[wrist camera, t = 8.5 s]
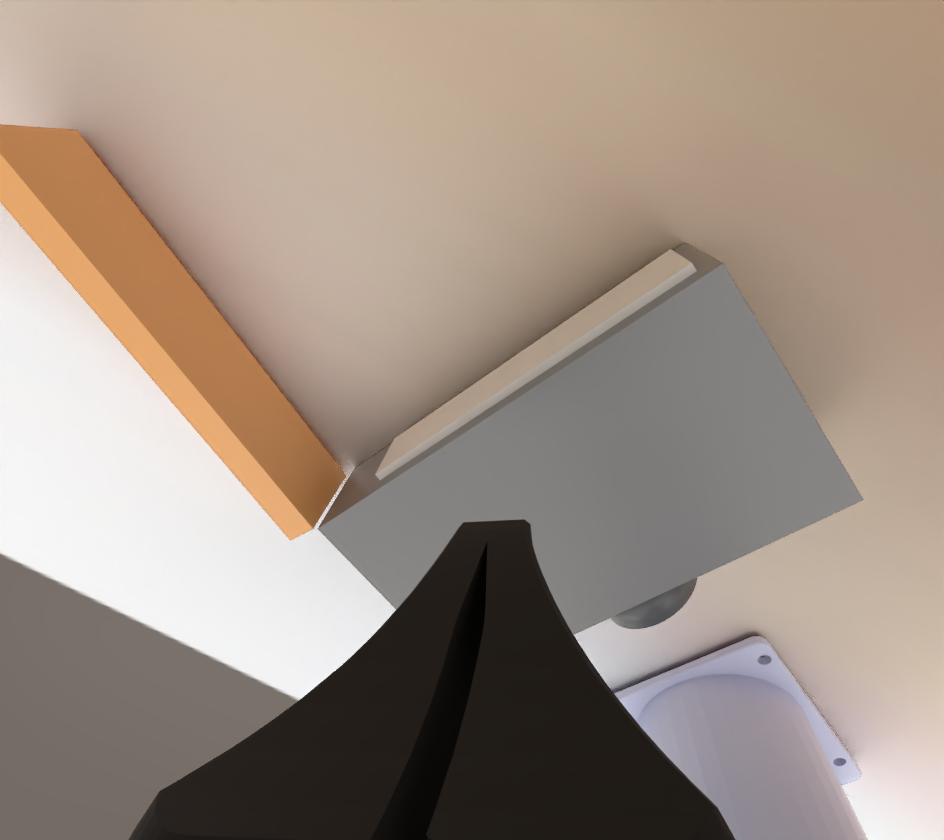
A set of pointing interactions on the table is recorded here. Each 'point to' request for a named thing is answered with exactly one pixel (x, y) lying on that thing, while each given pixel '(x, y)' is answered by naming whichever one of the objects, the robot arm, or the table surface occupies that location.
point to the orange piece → (164, 320)
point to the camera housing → (609, 454)
